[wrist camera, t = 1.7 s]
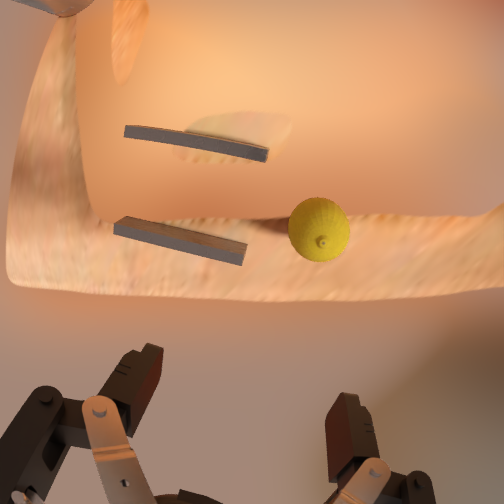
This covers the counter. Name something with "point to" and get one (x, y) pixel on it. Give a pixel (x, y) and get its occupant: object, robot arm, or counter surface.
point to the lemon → (318, 229)
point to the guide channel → (177, 236)
